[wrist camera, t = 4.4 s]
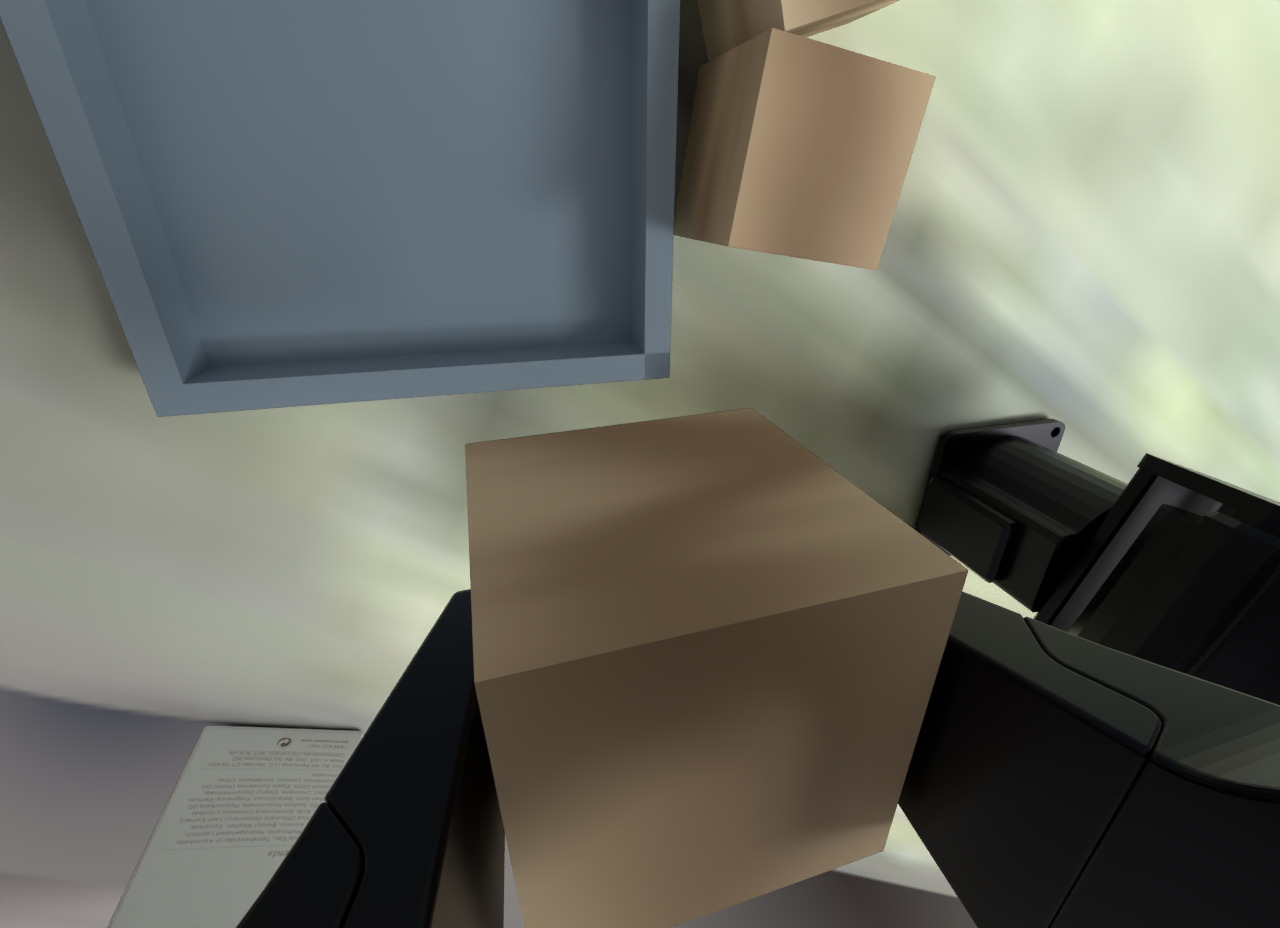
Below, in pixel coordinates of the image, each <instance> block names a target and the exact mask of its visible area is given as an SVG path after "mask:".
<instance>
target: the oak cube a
mask: <svg viewBox="0 0 1280 928" xmlns="http://www.w3.org/2000/svg"><path fill="white" fill-rule="evenodd" d="M465 450H466V477H467V503H468V529H469V555H470V581H471V608H472V634H473V660H474V683H475V688H476V693H477V698H478V703H479V708H480V713H481V718H482V723H483V727H484V732H485V737H486V742H487V747H488V752H489V757H490V762H491V767H492V772H493V776H494V781H495V786H496V791H497V796H498V801H499V806H500V811H501V816H502V821H503V825H504V830H505V835H506V840H507V845H508V850H509V855H510V860H511V865H512V869H513V874H514V879H515V884H516V889H517V894H518V899H519V904H520V909H521V913H522V918H523V923H524V928H672V927H675V926H678V925H680V924H683V923H686V922H689V921H692V920H694V919H697V918H700V917H703V916H705V915H708V914H711V913H714V912H716V911H719V910H722V909H725V908H727V907H730V906H733V905H735V904H738V903H741V902H744V901H746V900H750V899H752V898H755V897H758V896H761V895H763V894H766V893H769V892H772V891H774V890H777V889H780V888H782V887H785V886H788V885H791V884H794V883H796V882H799V881H802V880H805V879H807V878H810V877H813V876H816V875H818V874H821V873H824V872H827V871H830V870H832V869H835V868H838V867H841V866H843V865H846V864H849V863H852V862H854V861H857V860H860V859H863V858H865V857H868V856H871V855H874V854H876V853H879V852H882V851H883V850H884V847H885V844H886V840H887V837H888V834H889V830H890V827H891V824H892V820H893V817H894V814H895V811H896V807H897V804H898V801H899V797H900V794H901V791H902V787H903V784H904V781H905V778H906V774H907V771H908V768H909V764H910V761H911V758H912V754H913V751H914V748H915V745H916V741H917V738H918V735H919V731H920V728H921V725H922V722H923V718H924V715H925V712H926V708H927V705H928V702H929V698H930V695H931V692H932V689H933V685H934V682H935V679H936V675H937V672H938V669H939V665H940V662H941V659H942V656H943V652H944V649H945V646H946V642H947V639H948V636H949V632H950V629H951V626H952V623H953V619H954V616H955V613H956V609H957V606H958V603H959V600H960V596H961V593H962V590H963V586H964V583H965V580H966V576H967V573H968V569H966V568H965V567H964V566H962V565H961V564H960V563H958V562H957V561H956V560H954V559H953V558H952V557H950V556H949V555H948V554H946V553H945V552H944V551H942V550H941V549H940V548H938V547H937V546H936V545H934V544H933V543H932V542H930V541H929V540H928V539H926V538H925V537H924V536H922V535H921V534H920V533H918V532H917V531H916V530H914V529H913V528H912V527H910V526H909V525H908V524H906V523H905V522H904V521H902V520H901V519H899V518H898V517H897V516H895V515H894V514H893V513H891V512H890V511H889V510H887V509H886V508H885V507H883V506H882V505H881V504H879V503H878V502H877V501H875V500H874V499H873V498H871V497H870V496H869V495H867V494H866V493H865V492H863V491H862V490H861V489H859V488H858V487H857V486H855V485H854V484H853V483H851V482H850V481H849V480H847V479H846V478H845V477H843V476H842V475H841V474H839V473H838V472H837V471H835V470H834V469H833V468H831V467H830V466H829V465H827V464H826V463H825V462H823V461H822V460H821V459H819V458H818V457H817V456H815V455H814V454H813V453H811V452H810V451H809V450H807V449H806V448H805V447H803V446H802V445H801V444H799V443H798V442H796V441H795V440H794V439H792V438H791V437H790V436H788V435H787V434H786V433H784V432H783V431H782V430H780V429H779V428H778V427H776V426H775V425H774V424H772V423H771V422H770V421H768V420H767V419H766V418H764V417H763V416H762V415H760V414H759V413H758V412H756V411H755V410H754V409H752V408H746V409H738V410H730V411H722V412H714V413H706V414H699V415H691V416H683V417H675V418H667V419H659V420H651V421H643V422H635V423H627V424H619V425H611V426H603V427H596V428H588V429H580V430H572V431H564V432H556V433H548V434H540V435H532V436H524V437H516V438H508V439H500V440H493V441H485V442H477V443H469V444H465Z"/></svg>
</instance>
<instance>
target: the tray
mask: <svg viewBox="0 0 1280 928" xmlns="http://www.w3.org/2000/svg"><path fill="white" fill-rule="evenodd" d="M0 18H1V20H2V23H3V25H4V28H5V30H6V33H7V36H8V38H9V41H10V43H11V46H12V48H13V51H14V53H15V56H16V58H17V61H18V64H19V66H20V69H21V71H22V74H23V76H24V79H25V81H26V84H27V86H28V89H29V92H30V94H31V97H32V99H33V102H34V104H35V107H36V109H37V112H38V114H39V117H40V120H41V122H42V125H43V127H44V130H45V132H46V135H47V137H48V140H49V142H50V145H51V147H52V150H53V153H54V155H55V158H56V160H57V163H58V165H59V168H60V170H61V173H62V175H63V178H64V181H65V183H66V186H67V188H68V191H69V193H70V196H71V198H72V201H73V203H74V206H75V209H76V211H77V214H78V216H79V219H80V221H81V224H82V226H83V229H84V231H85V234H86V237H87V239H88V242H89V244H90V247H91V249H92V252H93V254H94V257H95V259H96V262H97V265H98V267H99V270H100V272H101V275H102V277H103V280H104V282H105V285H106V287H107V290H108V293H109V295H110V298H111V300H112V303H113V305H114V308H115V310H116V313H117V315H118V318H119V321H120V323H121V326H122V328H123V331H124V333H125V336H126V338H127V341H128V343H129V346H130V349H131V351H132V354H133V356H134V359H135V361H136V364H137V366H138V369H139V371H140V374H141V376H142V379H143V382H144V384H145V387H146V389H147V392H148V394H149V397H150V399H151V402H152V404H153V407H154V410H155V412H156V415H157V417H163V416H176V415H190V414H203V413H216V412H229V411H242V410H255V409H268V408H281V407H294V406H307V405H320V404H333V403H346V402H359V401H372V400H385V399H398V398H412V397H425V396H438V395H451V394H464V393H477V392H490V391H503V390H516V389H529V388H542V387H555V386H568V385H581V384H594V383H607V382H620V381H634V380H647V379H660V378H669V369H670V335H671V301H672V267H673V233H674V199H675V165H676V131H677V97H678V63H679V29H680V0H0Z"/></svg>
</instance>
